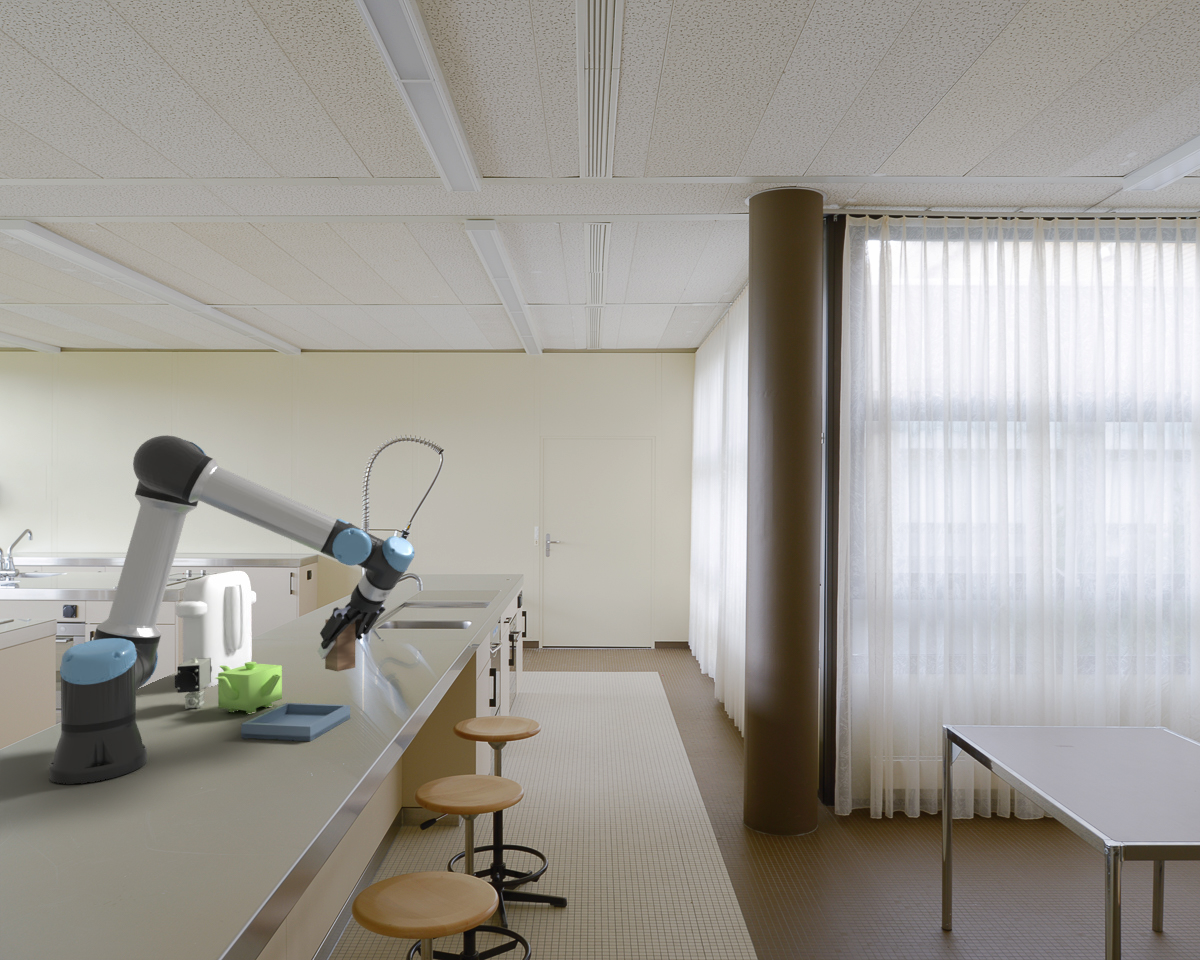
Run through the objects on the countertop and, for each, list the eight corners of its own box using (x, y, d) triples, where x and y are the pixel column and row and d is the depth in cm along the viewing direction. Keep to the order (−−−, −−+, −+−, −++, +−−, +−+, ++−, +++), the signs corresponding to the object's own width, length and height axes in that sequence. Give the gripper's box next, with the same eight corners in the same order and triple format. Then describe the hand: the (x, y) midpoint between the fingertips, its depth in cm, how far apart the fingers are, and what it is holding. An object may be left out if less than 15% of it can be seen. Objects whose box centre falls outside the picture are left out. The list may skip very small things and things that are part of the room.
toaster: (208, 692, 193) (207, 578, 194) (170, 691, 195) (169, 578, 196) (270, 668, 220) (269, 568, 221) (236, 668, 222) (235, 568, 223)
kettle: (215, 721, 168) (215, 672, 168) (215, 707, 180) (214, 660, 180) (286, 711, 175) (286, 664, 175) (281, 698, 187) (281, 653, 187)
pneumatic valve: (212, 699, 186) (212, 652, 187) (197, 712, 175) (196, 662, 175) (189, 701, 185) (188, 653, 186) (171, 714, 174) (171, 663, 174)
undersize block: (337, 671, 177) (337, 610, 178) (325, 668, 180) (325, 609, 181) (355, 667, 181) (355, 608, 182) (343, 665, 184) (343, 606, 185)
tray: (310, 741, 152) (310, 726, 152) (241, 738, 155) (241, 723, 155) (350, 718, 168) (350, 705, 168) (286, 715, 171) (286, 702, 171)
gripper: (346, 607, 165) (304, 671, 174) (410, 598, 179) (368, 658, 189) (332, 582, 168) (291, 646, 178) (396, 575, 183) (356, 635, 192)
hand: (331, 652), depth 183 cm, fingers closed on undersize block, 5 cm apart
